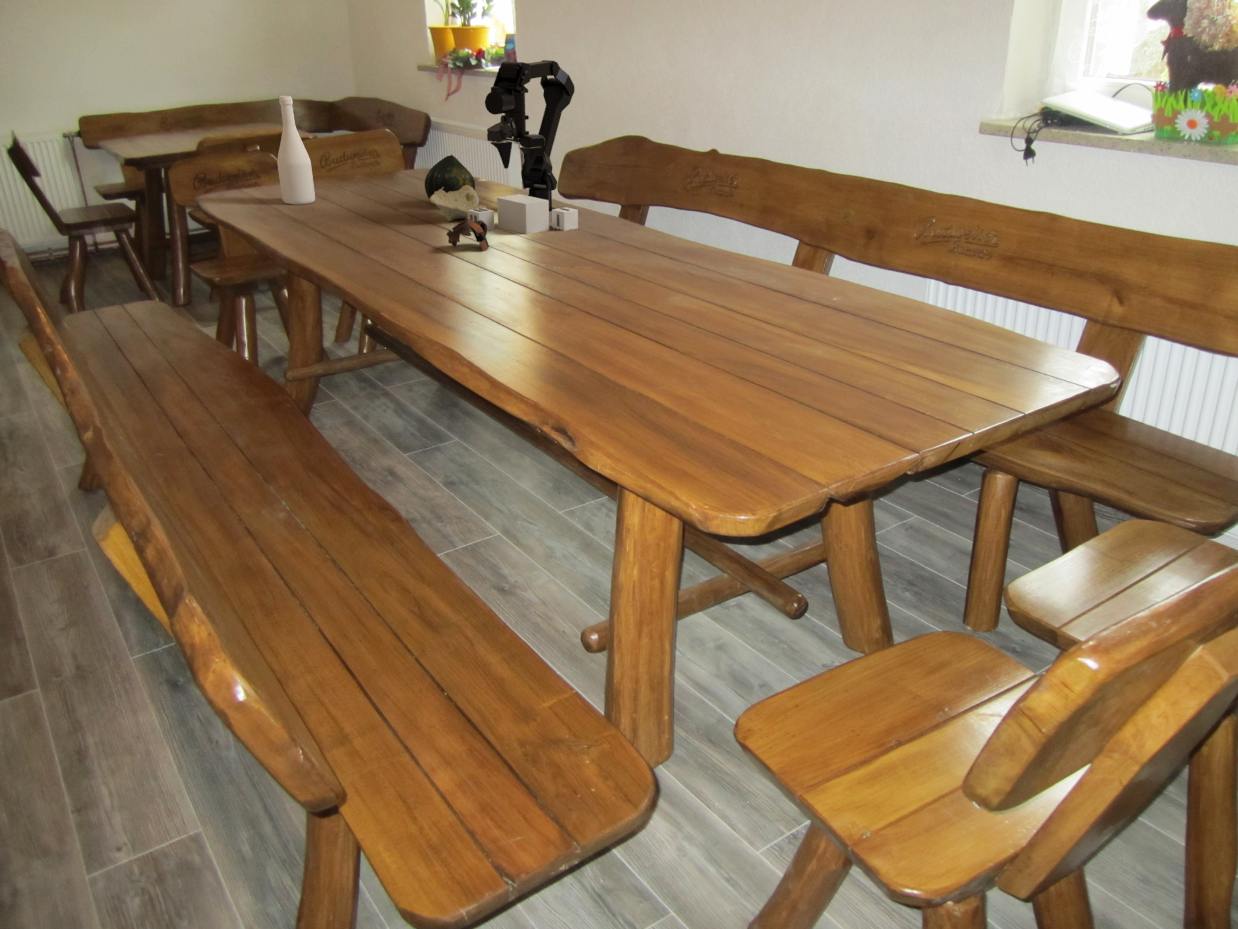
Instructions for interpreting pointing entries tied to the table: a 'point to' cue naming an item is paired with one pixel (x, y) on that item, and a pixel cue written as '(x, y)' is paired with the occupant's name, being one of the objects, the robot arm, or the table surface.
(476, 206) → the cheese
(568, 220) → the striped block one
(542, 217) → the plain grey block
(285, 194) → the wine bottle
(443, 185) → the squash
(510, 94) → the robot arm
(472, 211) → the white marked cube
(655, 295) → the table surface
